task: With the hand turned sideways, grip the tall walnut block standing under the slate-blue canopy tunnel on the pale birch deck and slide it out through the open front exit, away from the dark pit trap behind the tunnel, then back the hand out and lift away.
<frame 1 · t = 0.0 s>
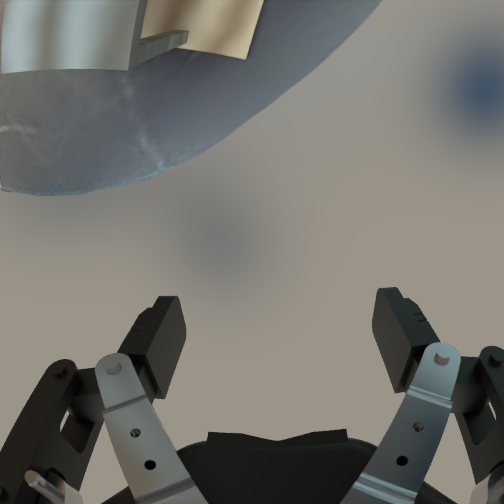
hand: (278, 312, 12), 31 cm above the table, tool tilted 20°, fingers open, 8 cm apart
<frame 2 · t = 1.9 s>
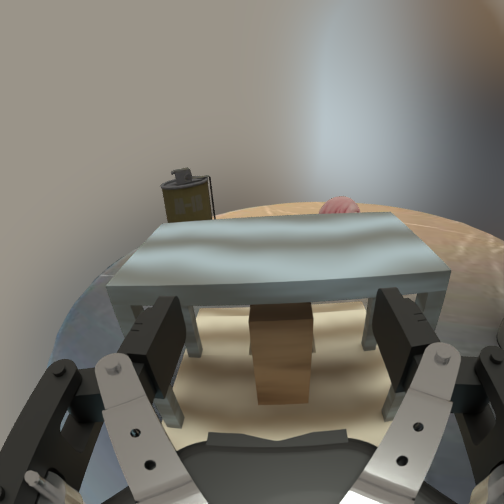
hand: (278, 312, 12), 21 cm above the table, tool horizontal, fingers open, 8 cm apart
toy: (342, 242, 69), on the table
canister: (196, 255, 70), on the table
walnut block: (283, 386, 29), point 3 cm above the table, touching tunnel deck
tunnel deck: (283, 402, 31), on the table
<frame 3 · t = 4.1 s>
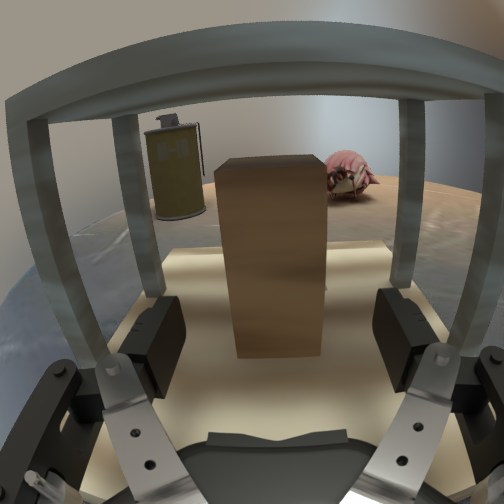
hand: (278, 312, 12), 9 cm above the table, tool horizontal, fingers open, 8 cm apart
toy: (348, 201, 60), on the table
canister: (181, 213, 60), on the table
walnut block: (278, 332, 20), point 3 cm above the table, touching tunnel deck
tunnel deck: (279, 363, 21), on the table
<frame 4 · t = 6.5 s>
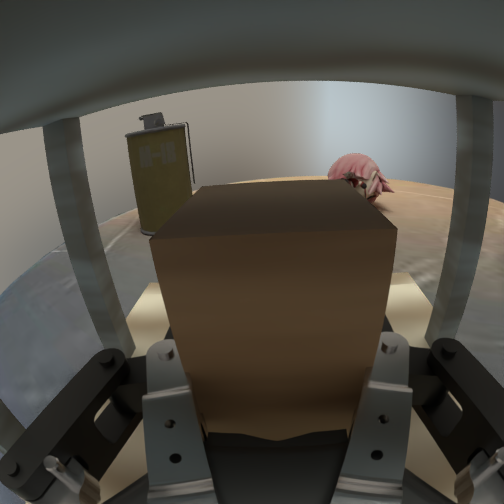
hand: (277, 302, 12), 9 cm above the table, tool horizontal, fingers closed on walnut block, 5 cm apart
toy: (358, 211, 53), on the table
canister: (170, 226, 53), on the table
walnut block: (281, 431, 12), point 3 cm above the table, touching gripper, tunnel deck
tunnel deck: (281, 456, 14), on the table
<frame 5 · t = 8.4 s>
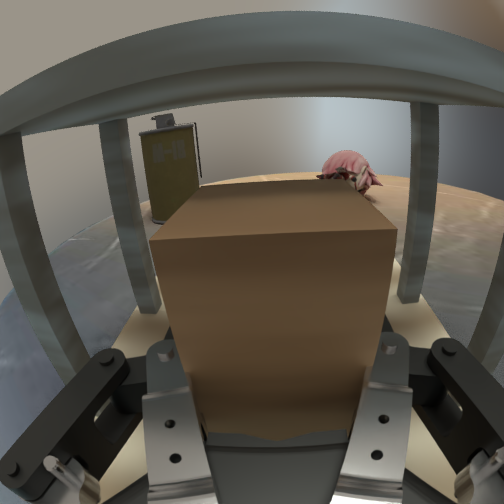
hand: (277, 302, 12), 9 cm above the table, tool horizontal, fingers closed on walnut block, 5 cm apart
toy: (350, 202, 58), on the table
canister: (178, 216, 58), on the table
walnut block: (281, 431, 12), point 3 cm above the table, touching gripper
tunnel deck: (281, 384, 19), on the table
when the fingers open (9 cm above the table, at t = 10.2 s): walnut block stays where it is, resting on tunnel deck.
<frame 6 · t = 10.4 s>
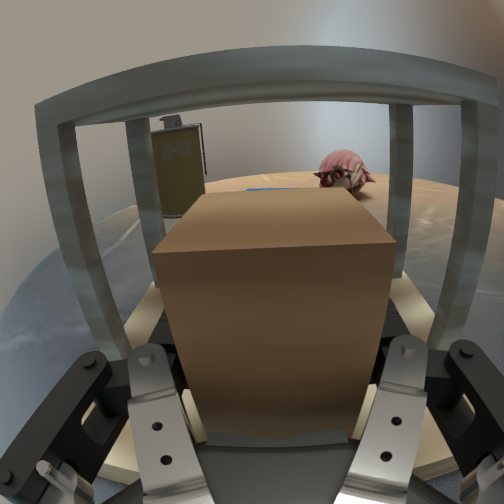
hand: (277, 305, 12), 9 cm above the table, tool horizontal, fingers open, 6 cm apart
toy: (346, 198, 62), on the table
canister: (184, 211, 62), on the table
walnut block: (281, 435, 13), point 3 cm above the table, touching tunnel deck
tunnel deck: (280, 346, 23), on the table
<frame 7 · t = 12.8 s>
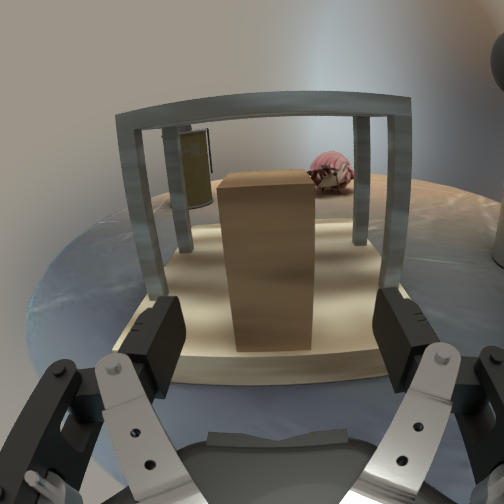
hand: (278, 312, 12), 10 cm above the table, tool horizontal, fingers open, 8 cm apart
toy: (333, 194, 71), on the table
canister: (192, 204, 71), on the table
walnut block: (273, 328, 22), point 3 cm above the table, touching tunnel deck
tunnel deck: (274, 292, 32), on the table
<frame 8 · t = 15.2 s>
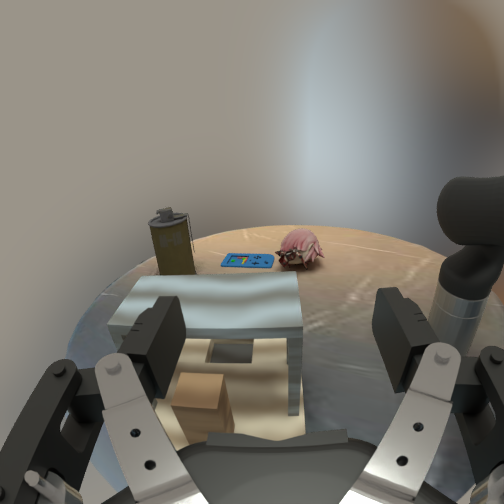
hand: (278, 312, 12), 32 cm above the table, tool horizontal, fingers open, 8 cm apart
handheld gaming device: (248, 262, 90), on the table
toy: (301, 268, 83), on the table
canister: (179, 277, 83), on the table
walnut block: (214, 438, 34), point 3 cm above the table, touching tunnel deck
tunnel deck: (226, 396, 44), on the table
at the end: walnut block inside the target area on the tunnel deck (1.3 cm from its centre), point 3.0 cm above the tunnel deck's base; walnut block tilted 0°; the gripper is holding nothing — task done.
